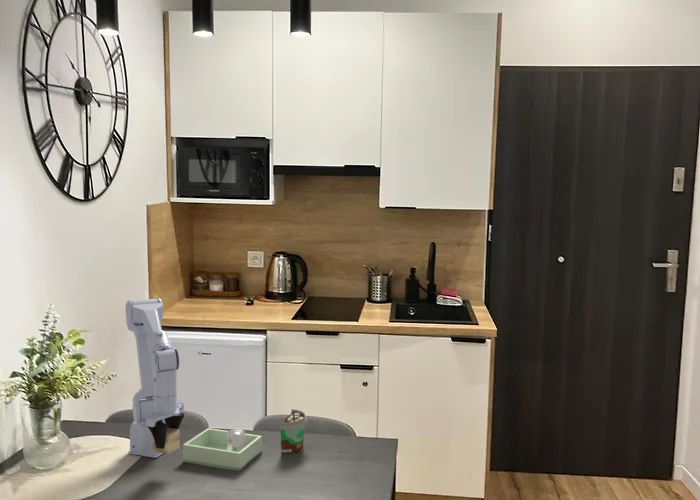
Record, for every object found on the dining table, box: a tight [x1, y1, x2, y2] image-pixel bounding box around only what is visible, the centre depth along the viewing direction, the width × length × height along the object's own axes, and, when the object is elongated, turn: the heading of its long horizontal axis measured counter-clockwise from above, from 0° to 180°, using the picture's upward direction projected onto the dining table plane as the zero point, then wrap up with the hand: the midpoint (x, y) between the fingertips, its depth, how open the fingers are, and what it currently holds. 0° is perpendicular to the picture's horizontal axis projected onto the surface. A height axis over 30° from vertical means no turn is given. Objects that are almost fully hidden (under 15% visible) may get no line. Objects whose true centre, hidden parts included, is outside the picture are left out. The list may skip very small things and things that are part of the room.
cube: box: [153, 428, 181, 455], centre depth 185 cm, size 5×5×5 cm
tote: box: [182, 427, 263, 472], centre depth 196 cm, size 18×14×5 cm
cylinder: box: [227, 428, 246, 452], centre depth 195 cm, size 5×5×7 cm
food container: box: [279, 408, 308, 455], centre depth 203 cm, size 12×6×10 cm, turn 168°
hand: (166, 443), depth 185 cm, fingers closed on cube, 5 cm apart
